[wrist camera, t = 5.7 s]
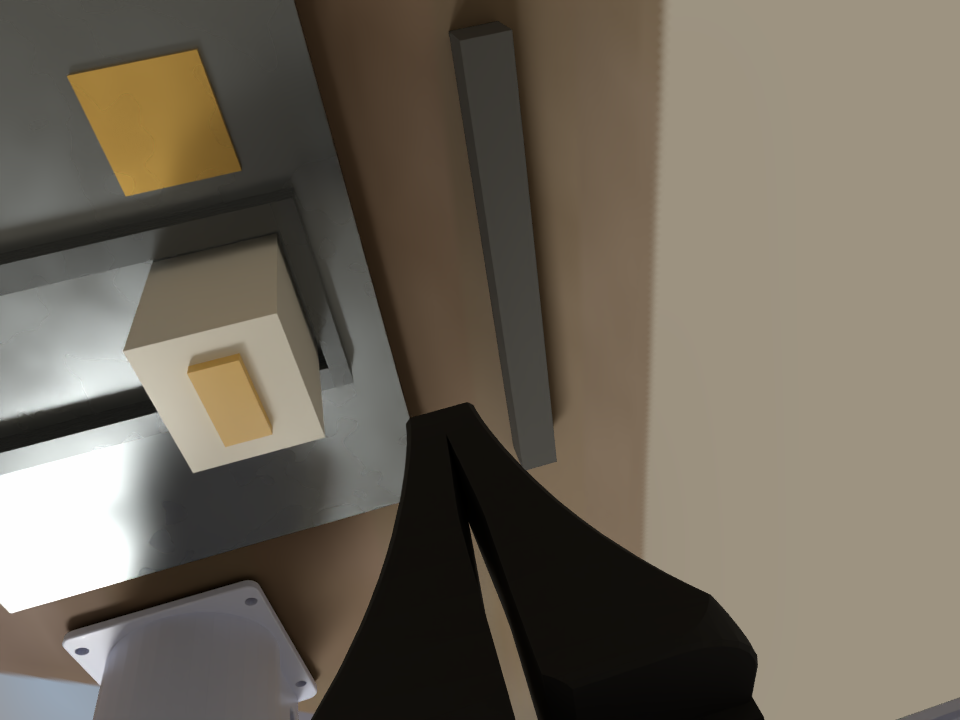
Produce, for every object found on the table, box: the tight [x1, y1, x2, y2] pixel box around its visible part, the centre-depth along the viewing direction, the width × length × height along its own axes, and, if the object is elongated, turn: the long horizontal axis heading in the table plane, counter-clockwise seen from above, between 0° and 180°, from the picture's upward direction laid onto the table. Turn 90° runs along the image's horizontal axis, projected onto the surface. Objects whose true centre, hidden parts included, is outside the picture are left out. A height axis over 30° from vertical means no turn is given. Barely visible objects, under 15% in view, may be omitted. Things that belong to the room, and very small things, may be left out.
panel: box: [0, 0, 410, 613], centre depth 20 cm, size 20×16×2 cm
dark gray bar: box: [449, 21, 557, 470], centre depth 23 cm, size 16×1×1 cm, turn 8°
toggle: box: [123, 233, 325, 473], centre depth 18 cm, size 4×4×5 cm
